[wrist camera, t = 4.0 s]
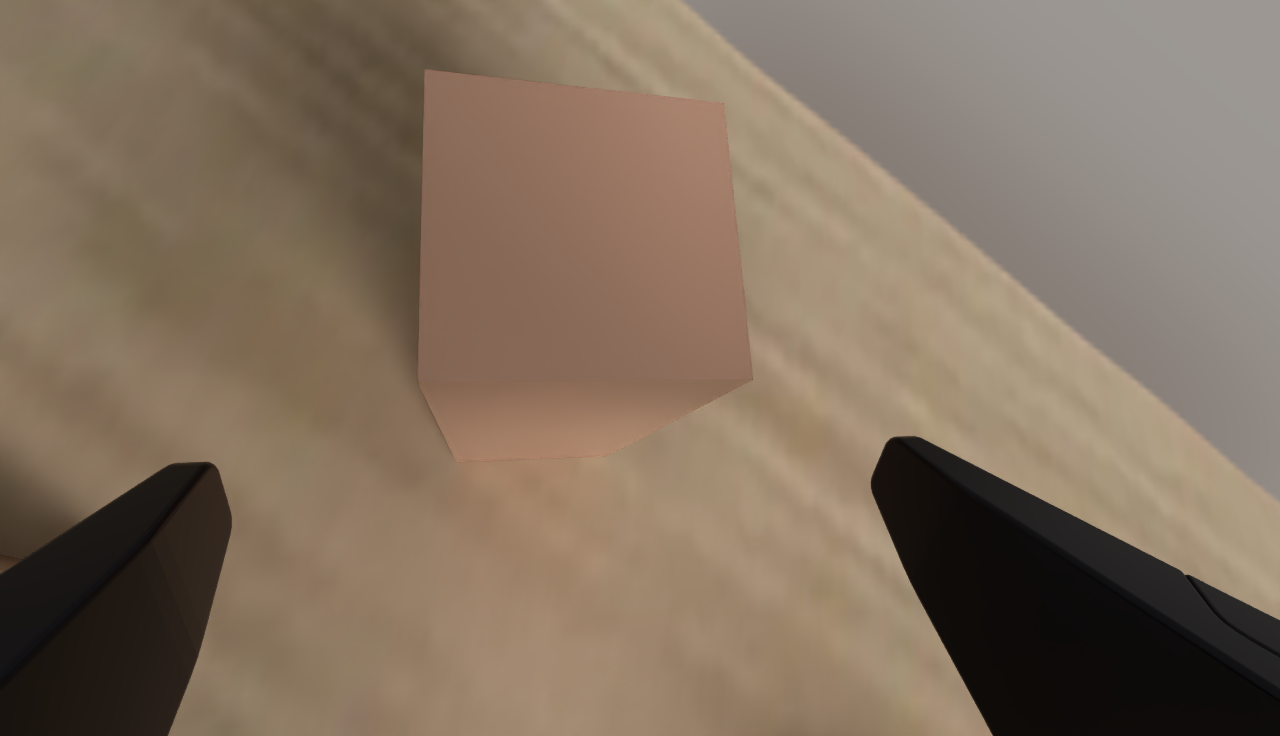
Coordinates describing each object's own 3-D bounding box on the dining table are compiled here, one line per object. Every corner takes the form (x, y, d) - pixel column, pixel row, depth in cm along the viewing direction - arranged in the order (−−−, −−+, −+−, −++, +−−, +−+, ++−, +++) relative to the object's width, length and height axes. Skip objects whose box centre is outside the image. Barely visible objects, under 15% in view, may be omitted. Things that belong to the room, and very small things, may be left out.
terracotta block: (606, 456, 19) (752, 379, 9) (456, 461, 18) (417, 382, 8) (600, 318, 20) (723, 103, 10) (457, 316, 19) (425, 69, 9)
